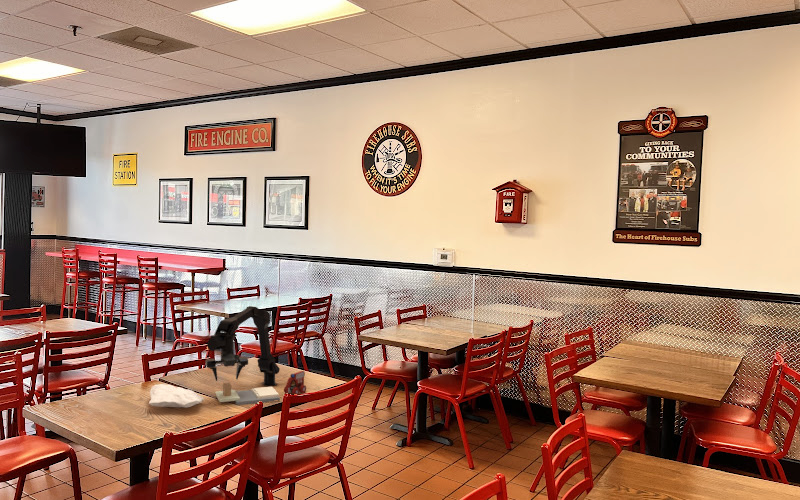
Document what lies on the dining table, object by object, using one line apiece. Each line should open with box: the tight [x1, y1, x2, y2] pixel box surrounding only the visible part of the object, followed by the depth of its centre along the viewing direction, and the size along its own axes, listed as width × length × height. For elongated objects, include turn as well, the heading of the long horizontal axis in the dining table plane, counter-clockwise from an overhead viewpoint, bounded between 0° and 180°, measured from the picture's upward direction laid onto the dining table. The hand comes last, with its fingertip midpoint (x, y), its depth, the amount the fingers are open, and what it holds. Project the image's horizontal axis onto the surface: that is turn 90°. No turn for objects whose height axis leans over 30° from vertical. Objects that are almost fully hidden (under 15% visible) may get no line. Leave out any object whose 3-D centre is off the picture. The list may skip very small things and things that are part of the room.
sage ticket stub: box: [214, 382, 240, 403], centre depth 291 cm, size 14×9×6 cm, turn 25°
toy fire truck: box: [283, 370, 307, 395], centre depth 306 cm, size 7×12×10 cm, turn 148°
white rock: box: [148, 383, 205, 408], centre depth 280 cm, size 24×35×9 cm
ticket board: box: [233, 386, 281, 406], centre depth 297 cm, size 18×20×3 cm
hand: (226, 380), depth 290 cm, fingers open, 9 cm apart
